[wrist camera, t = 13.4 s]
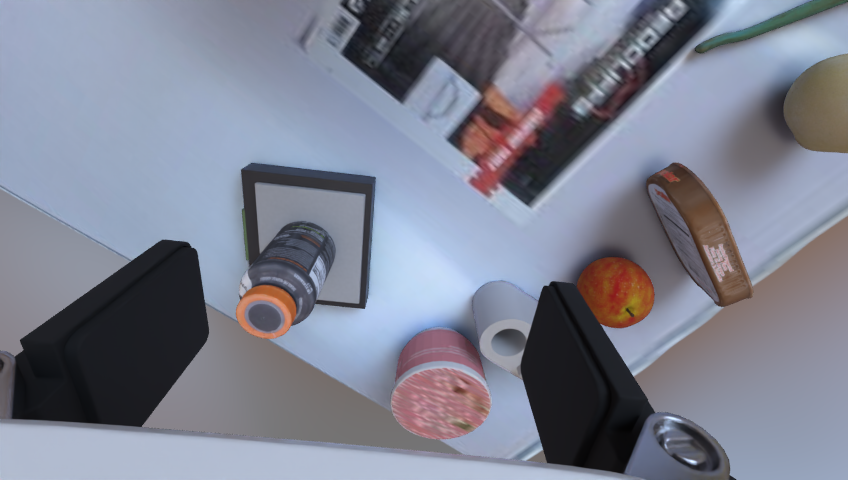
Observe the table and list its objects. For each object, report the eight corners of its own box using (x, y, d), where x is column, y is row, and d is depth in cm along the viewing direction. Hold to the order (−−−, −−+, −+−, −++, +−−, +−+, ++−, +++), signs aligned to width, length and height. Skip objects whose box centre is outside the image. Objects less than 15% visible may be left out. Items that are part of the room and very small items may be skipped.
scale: (246, 162, 38) (232, 170, 35) (375, 176, 38) (371, 186, 35) (256, 285, 44) (244, 300, 41) (368, 296, 44) (364, 312, 41)
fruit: (642, 281, 43) (685, 327, 36) (584, 310, 45) (614, 359, 38) (617, 233, 41) (658, 272, 33) (556, 266, 42) (583, 310, 35)
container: (448, 395, 51) (451, 452, 43) (379, 360, 48) (371, 414, 41) (499, 343, 47) (513, 396, 40) (427, 302, 44) (428, 350, 37)
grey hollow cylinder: (575, 376, 49) (600, 432, 42) (462, 306, 45) (468, 355, 37) (609, 348, 47) (641, 401, 40) (494, 272, 43) (508, 316, 35)
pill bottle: (263, 245, 38) (203, 315, 28) (302, 207, 36) (253, 266, 26) (310, 284, 40) (269, 363, 30) (349, 249, 38) (321, 320, 28)
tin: (709, 266, 42) (772, 312, 35) (681, 280, 43) (735, 328, 35) (660, 150, 37) (720, 176, 29) (628, 169, 38) (678, 198, 30)
